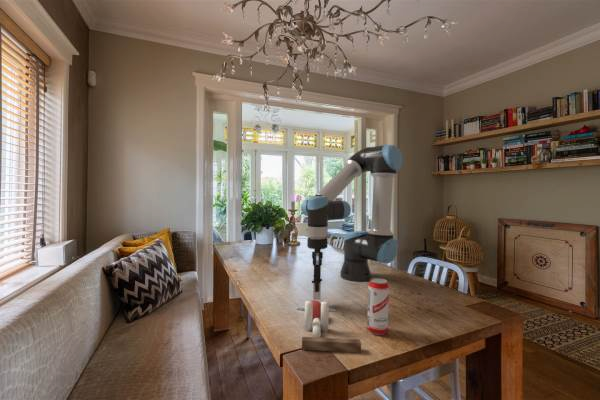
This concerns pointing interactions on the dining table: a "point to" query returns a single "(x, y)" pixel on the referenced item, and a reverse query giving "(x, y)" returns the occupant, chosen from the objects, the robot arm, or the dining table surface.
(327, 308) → the pin back right
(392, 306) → the dining table surface
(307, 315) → the pin back left
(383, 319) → the beer can
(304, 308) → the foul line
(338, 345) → the back wall
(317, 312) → the ball
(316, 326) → the pin front
